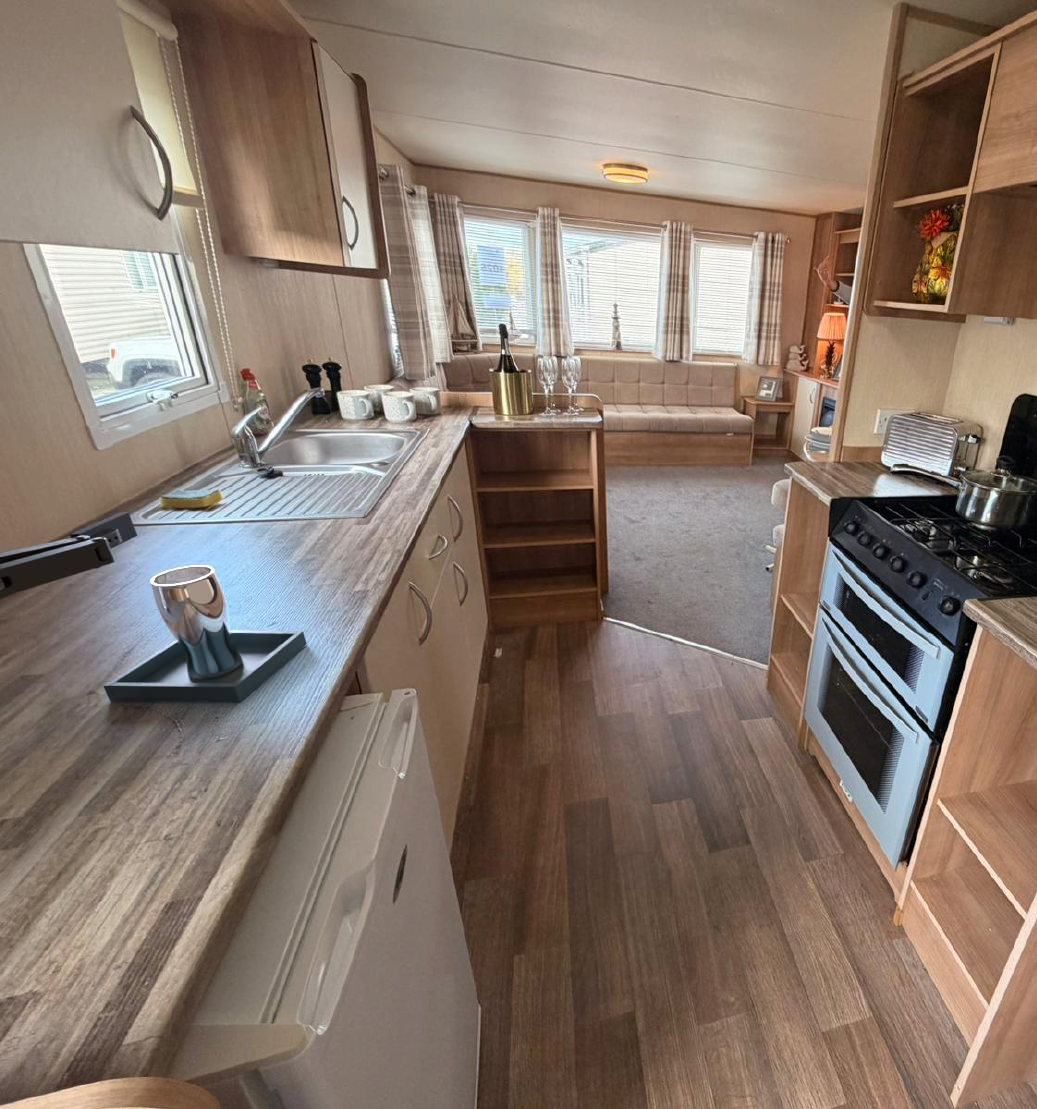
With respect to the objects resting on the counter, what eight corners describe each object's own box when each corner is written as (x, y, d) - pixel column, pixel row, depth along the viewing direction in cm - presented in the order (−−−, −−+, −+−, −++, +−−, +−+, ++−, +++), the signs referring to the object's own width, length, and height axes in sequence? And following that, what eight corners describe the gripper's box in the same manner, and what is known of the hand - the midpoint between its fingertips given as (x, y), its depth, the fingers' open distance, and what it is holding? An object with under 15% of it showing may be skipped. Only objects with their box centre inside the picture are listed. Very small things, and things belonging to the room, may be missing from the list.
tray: (110, 701, 79) (102, 685, 78) (197, 643, 92) (191, 629, 91) (240, 702, 80) (234, 687, 79) (307, 645, 93) (303, 631, 92)
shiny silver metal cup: (172, 674, 84) (135, 579, 78) (227, 650, 90) (196, 561, 84) (203, 686, 82) (167, 590, 76) (257, 661, 88) (227, 570, 82)
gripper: (-387, 680, 42) (-76, 561, 61) (31, 657, 47) (200, 554, 66) (-466, 587, 39) (-113, 492, 58) (-11, 573, 44) (178, 490, 63)
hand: (54, 525), depth 62 cm, fingers open, 13 cm apart
